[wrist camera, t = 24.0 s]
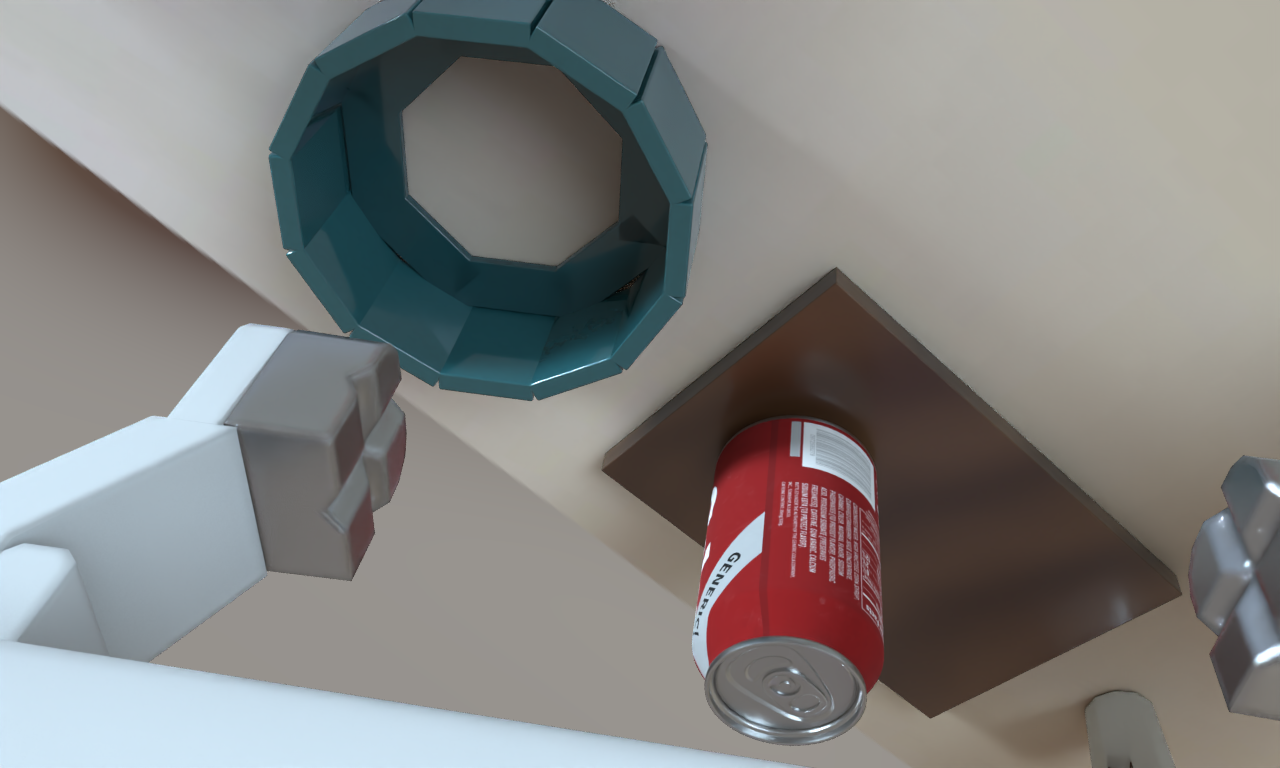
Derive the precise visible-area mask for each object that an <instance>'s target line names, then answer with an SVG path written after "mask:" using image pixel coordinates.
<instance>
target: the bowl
mask: <svg viewBox="0 0 1280 768" xmlns="http://www.w3.org/2000/svg"><path fill="white" fill-rule="evenodd" d="M657 41H658V40H657V39H656V38H654V37H653V36H651V35H650V34H649V33H647V32H646V31H644V30H643V29H641V28H640V27H639V26H637V25H636V24H634V23H633V22H631V21H630V20H629V19H627V18H626V17H624V16H623V15H622V14H620V13H619V12H617V11H616V10H614V9H613V8H612V7H610V6H609V5H607V4H606V3H604V2H603V1H602V0H383V1H381V2H379V3H377V4H375V5H374V6H372V7H370V8H368V9H366V10H365V11H364V12H363V13H362V14H361V15H360V16H359V17H358V18H357V19H356V20H355V21H354V22H353V23H351V24H350V25H349V26H348V27H347V28H346V29H345V30H344V31H343V32H342V33H341V34H340V35H339V36H338V37H337V38H336V39H335V40H334V41H333V42H331V43H330V44H329V45H328V46H327V47H326V48H325V49H324V50H323V51H322V52H321V53H320V54H319V55H318V56H317V57H316V58H315V59H314V60H313V61H312V62H311V63H310V64H309V65H308V66H307V69H306V71H305V73H304V75H303V77H302V79H301V81H300V83H299V86H298V88H297V90H296V92H295V94H294V96H293V98H292V100H291V103H290V105H289V107H288V109H287V111H286V113H285V115H284V117H283V120H282V122H281V124H280V126H279V128H278V130H277V132H276V134H275V136H274V139H273V141H272V143H271V145H270V147H269V150H270V151H272V152H271V154H270V155H269V163H270V169H271V175H272V181H273V188H274V194H275V200H276V206H277V212H278V219H279V225H280V231H281V237H282V243H283V248H284V249H287V250H289V251H288V253H287V254H286V256H287V257H288V259H289V260H290V261H291V263H292V264H293V265H294V267H295V268H296V269H297V271H298V272H299V273H300V275H301V276H302V278H303V279H304V280H305V282H306V283H307V284H308V286H309V287H310V288H311V290H312V291H313V292H314V294H315V295H316V296H317V298H318V299H319V300H320V302H321V303H322V304H323V306H324V307H325V308H326V310H327V311H328V313H329V314H330V315H331V317H332V318H333V319H334V321H335V322H336V323H337V325H338V326H339V327H340V329H341V330H342V331H343V333H347V332H349V331H352V330H353V331H352V332H351V334H350V338H357V339H363V340H370V341H377V342H383V343H390V344H392V345H393V346H394V348H395V349H396V350H397V351H398V356H399V363H400V368H402V369H404V370H405V371H407V372H409V373H410V374H412V375H414V376H416V377H417V378H419V379H421V380H422V381H424V382H426V383H428V384H429V385H431V386H435V385H436V383H437V382H438V380H439V388H440V389H444V390H451V391H459V392H466V393H474V394H481V395H489V396H497V397H504V398H512V399H519V400H527V401H532V400H533V398H534V395H535V397H536V398H537V400H542V399H545V398H548V397H551V396H554V395H557V394H560V393H563V392H566V391H569V390H572V389H575V388H578V387H581V386H584V385H587V384H590V383H593V382H596V381H599V380H602V379H605V378H608V377H611V376H614V375H617V374H620V373H622V370H623V368H624V369H625V370H627V369H628V368H629V367H630V366H631V365H632V364H633V362H634V361H635V360H636V359H637V358H638V356H639V355H640V354H641V353H642V352H643V351H644V349H645V348H646V347H647V346H648V345H649V343H650V342H651V341H652V340H653V339H654V337H655V336H656V335H657V334H658V333H659V332H660V330H661V329H662V328H663V327H664V326H665V324H666V323H667V322H668V321H669V320H670V318H671V317H672V316H673V315H674V314H675V313H676V311H677V310H678V309H679V308H680V307H681V305H682V304H683V299H684V298H685V296H686V291H687V287H688V282H689V277H690V272H691V268H692V263H693V258H694V253H695V249H696V244H697V239H698V234H699V230H700V219H701V209H702V199H703V188H704V178H705V168H706V157H707V147H708V144H707V142H705V139H706V134H705V132H704V130H703V128H702V126H701V124H700V122H699V120H698V118H697V116H696V113H695V111H694V109H693V107H692V105H691V103H690V101H689V99H688V97H687V95H686V93H685V91H684V89H683V87H682V85H681V83H680V81H679V79H678V77H677V74H676V72H675V70H674V68H673V66H672V64H671V62H670V60H669V58H668V56H667V54H666V52H665V50H664V48H663V47H662V46H659V47H657V48H655V47H656V44H657ZM460 56H465V57H474V58H484V59H493V60H503V61H512V62H521V63H531V64H540V65H549V66H555V67H556V68H557V69H559V70H560V71H562V72H563V74H564V75H565V76H566V77H567V78H568V79H569V80H570V81H571V82H572V83H573V85H574V86H575V87H576V88H577V89H578V90H579V91H580V92H581V93H582V95H583V96H584V97H585V98H586V99H587V100H588V101H589V102H590V103H591V104H592V106H593V107H594V108H595V109H596V110H597V111H598V112H599V113H600V114H601V115H602V117H603V118H604V119H605V120H606V121H607V122H608V123H609V124H610V125H611V126H612V128H613V129H614V130H615V131H616V132H617V133H618V134H619V135H620V136H621V137H622V139H623V141H622V162H621V184H620V205H619V220H618V221H617V222H616V223H614V224H613V225H612V226H610V227H609V228H608V229H606V230H605V231H604V232H602V233H601V234H600V235H598V236H597V237H596V238H594V239H593V240H592V241H590V242H589V243H588V244H586V245H585V246H584V247H582V248H581V249H580V250H578V251H577V252H576V253H574V254H573V255H572V256H570V257H569V258H568V259H566V260H565V261H564V262H562V263H561V264H560V265H558V266H549V265H541V264H533V263H525V262H517V261H508V260H500V259H492V258H484V257H476V256H472V255H471V254H470V253H469V252H468V251H466V250H465V249H464V248H463V247H462V246H461V245H460V244H459V243H458V242H457V241H456V240H455V239H454V238H453V237H452V236H451V235H450V234H449V233H448V232H447V231H446V230H445V229H444V228H443V227H442V226H441V225H440V224H439V223H438V222H437V221H436V220H435V219H434V218H433V217H431V216H430V215H429V214H428V213H427V212H426V211H425V210H424V209H423V208H422V207H421V206H420V205H419V204H418V203H417V202H416V201H415V200H414V199H413V198H412V197H411V196H410V195H409V194H408V182H407V169H406V157H405V145H404V132H403V120H402V111H403V110H404V109H405V108H406V107H407V106H408V105H409V104H410V103H411V102H412V101H413V100H414V99H416V98H417V97H418V96H419V95H420V94H421V93H422V92H423V91H424V90H425V89H426V88H427V87H428V86H429V85H430V84H432V83H433V82H434V81H435V80H436V79H437V78H438V77H439V76H440V75H441V74H442V73H443V72H444V71H445V70H447V69H448V68H449V67H450V66H451V65H452V64H453V63H454V62H455V61H456V60H457V59H458V58H459V57H460ZM396 252H397V253H398V254H399V255H400V256H401V257H402V258H403V259H404V260H405V261H406V262H407V263H408V264H407V263H406V262H404V261H402V260H401V259H400V258H399V256H398V255H397V253H396ZM641 273H642V274H641ZM640 274H641V275H640ZM638 275H640V276H639V277H638V279H637V280H636V281H635V282H634V284H633V285H632V286H631V288H629V289H626V290H623V291H620V292H618V293H615V294H613V293H614V292H616V291H617V290H619V289H620V288H621V287H623V286H624V285H626V284H627V283H628V282H630V281H631V280H633V279H634V278H636V277H637V276H638ZM611 294H612V295H611Z"/></svg>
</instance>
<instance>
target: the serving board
mask: <svg viewBox="0 0 1280 768" xmlns="http://www.w3.org/2000/svg"><path fill="white" fill-rule="evenodd" d="M787 415H798V416H808V417H814V418H818V419H822V420H825V421H828V422H831V423H833V424H836V425H838V426H840V427H841V428H843V429H845V430H847V431H848V432H850V433H851V434H852V435H854V436H855V437H856V438H857V439H858V440H859V441H860V442H861V443H862V444H863V445H864V446H865V448H866V449H867V450H868V452H869V454H870V455H871V457H872V459H873V462H874V464H875V468H876V474H877V491H878V516H879V540H880V565H881V589H882V614H883V638H884V663H883V668H882V671H881V674H880V676H879V678H878V680H880V681H881V682H882V683H884V684H885V685H886V686H888V687H889V688H890V689H892V690H893V691H894V692H896V693H897V694H898V695H900V696H901V697H902V698H904V699H905V700H906V701H908V702H909V703H910V704H912V705H913V706H914V707H916V708H917V709H918V710H920V711H921V712H922V713H924V714H925V715H926V716H927V717H929V718H933V717H935V716H937V715H939V714H941V713H943V712H945V711H947V710H949V709H951V708H953V707H955V706H957V705H959V704H961V703H963V702H965V701H967V700H969V699H971V698H973V697H976V696H978V695H980V694H982V693H984V692H986V691H988V690H990V689H992V688H994V687H996V686H998V685H1000V684H1002V683H1004V682H1006V681H1008V680H1010V679H1012V678H1014V677H1016V676H1018V675H1020V674H1022V673H1024V672H1026V671H1028V670H1031V669H1033V668H1035V667H1037V666H1039V665H1041V664H1043V663H1045V662H1047V661H1049V660H1051V659H1053V658H1055V657H1057V656H1059V655H1061V654H1063V653H1065V652H1067V651H1069V650H1071V649H1073V648H1075V647H1077V646H1079V645H1081V644H1083V643H1085V642H1088V641H1090V640H1092V639H1094V638H1096V637H1098V636H1100V635H1102V634H1104V633H1106V632H1108V631H1110V630H1112V629H1114V628H1116V627H1118V626H1120V625H1122V624H1124V623H1126V622H1128V621H1130V620H1132V619H1134V618H1136V617H1138V616H1140V615H1143V614H1145V613H1147V612H1149V611H1151V610H1153V609H1155V608H1157V607H1159V606H1161V605H1163V604H1165V603H1167V602H1169V601H1171V600H1173V599H1175V598H1177V597H1179V596H1181V595H1182V592H1181V589H1180V586H1179V583H1178V580H1177V577H1176V575H1175V574H1174V573H1173V572H1172V571H1171V570H1170V569H1168V568H1167V567H1166V566H1165V565H1164V564H1163V563H1162V562H1161V561H1160V560H1158V559H1157V558H1156V557H1155V556H1154V555H1153V554H1152V553H1151V552H1150V551H1149V550H1147V549H1146V548H1145V547H1144V546H1143V545H1142V544H1141V543H1140V542H1139V541H1138V540H1136V539H1135V538H1134V537H1133V536H1132V535H1131V534H1130V533H1129V532H1128V531H1127V530H1125V529H1124V528H1123V527H1122V526H1121V525H1120V524H1119V523H1118V522H1117V521H1116V520H1114V519H1113V518H1112V517H1111V516H1110V515H1109V514H1108V513H1107V512H1106V511H1105V510H1103V509H1102V508H1101V507H1100V506H1099V505H1098V504H1097V503H1096V502H1095V501H1093V500H1092V499H1091V498H1090V497H1089V496H1088V495H1087V494H1086V493H1085V492H1084V491H1082V490H1081V489H1080V488H1079V487H1078V486H1077V485H1076V484H1075V483H1074V482H1073V481H1071V480H1070V479H1069V478H1068V477H1067V476H1066V475H1065V474H1064V473H1063V472H1062V471H1060V470H1059V469H1058V468H1057V467H1056V466H1055V465H1054V464H1053V463H1052V462H1051V461H1049V460H1048V459H1047V458H1046V457H1045V456H1044V455H1043V454H1042V453H1041V452H1040V451H1038V450H1037V449H1036V448H1035V447H1034V446H1033V445H1032V444H1031V443H1030V442H1028V441H1027V440H1026V439H1025V438H1024V437H1023V436H1022V435H1021V434H1020V433H1019V432H1017V431H1016V430H1015V429H1014V428H1013V427H1012V426H1011V425H1010V424H1009V423H1008V422H1006V421H1005V420H1004V419H1003V418H1002V417H1001V416H1000V415H999V414H998V413H997V412H995V411H994V410H993V409H992V408H991V407H990V406H989V405H988V404H987V403H986V402H984V401H983V400H982V399H981V398H980V397H979V396H978V395H977V394H976V393H975V392H973V391H972V390H971V389H970V388H969V387H968V386H967V385H966V384H965V383H964V382H962V381H961V380H960V379H959V378H958V377H957V376H956V375H955V374H954V373H952V372H951V371H950V370H949V369H948V368H947V367H946V366H945V365H944V364H943V363H941V362H940V361H939V360H938V359H937V358H936V357H935V356H934V355H933V354H932V353H930V352H929V351H928V350H927V349H926V348H925V347H924V346H923V345H922V344H921V343H919V342H918V341H917V340H916V339H915V338H914V337H913V336H912V335H911V334H910V333H908V332H907V331H906V330H905V329H904V328H903V327H902V326H901V325H900V324H899V323H897V322H896V321H895V320H894V319H893V318H892V317H891V316H890V315H889V314H887V313H886V312H885V311H884V310H883V309H882V308H881V307H880V306H879V305H878V304H876V303H875V302H874V301H873V300H872V299H871V298H870V297H869V296H868V295H867V294H865V293H864V292H863V291H862V290H861V289H860V288H859V287H858V286H857V285H856V284H854V283H853V282H852V281H851V280H850V279H849V278H848V277H847V276H846V275H845V274H843V273H842V272H841V271H840V270H839V269H838V268H835V269H834V270H832V271H831V272H830V273H829V274H827V275H826V276H825V277H824V278H822V279H821V280H820V281H819V282H818V283H816V284H815V285H814V286H813V287H811V288H810V289H809V290H808V291H806V292H805V293H804V294H803V295H801V296H800V297H799V298H798V299H796V300H795V301H794V302H793V303H791V304H790V305H789V306H788V307H787V308H785V309H784V310H783V311H782V312H780V313H779V314H778V315H777V316H775V317H774V318H773V319H772V320H770V321H769V322H768V323H767V324H765V325H764V326H763V327H762V328H761V329H759V330H758V331H757V332H756V333H754V334H753V335H752V336H751V337H749V338H748V339H747V340H746V341H744V342H743V343H742V344H741V345H739V346H738V347H737V348H736V349H734V350H733V351H732V352H731V353H730V354H728V355H727V356H726V357H725V358H723V359H722V360H721V361H720V362H718V363H717V364H716V365H715V366H713V367H712V368H711V369H710V370H708V371H707V372H706V373H705V374H704V375H702V376H701V377H700V378H699V379H697V380H696V381H695V382H694V383H692V384H691V385H690V386H689V387H687V388H686V389H685V390H684V391H682V392H681V393H680V394H679V395H677V396H676V397H675V398H674V399H673V400H671V401H670V402H669V403H668V404H666V405H665V406H664V407H663V408H661V409H660V410H659V411H658V412H656V413H655V414H654V415H653V416H651V417H650V418H649V419H648V420H647V421H645V422H644V423H643V424H642V425H640V426H639V427H638V428H637V429H635V430H634V431H633V432H632V433H630V434H629V435H628V436H627V437H625V438H624V439H623V440H622V441H620V442H619V443H618V444H617V445H616V446H614V447H613V448H612V449H611V450H609V451H608V452H607V453H606V454H605V458H604V462H603V466H602V469H601V470H602V471H603V472H604V473H606V474H607V475H608V476H610V477H611V478H612V479H614V480H615V481H616V482H618V483H619V484H620V485H622V486H623V487H624V488H625V489H627V490H628V491H629V492H631V493H632V494H633V495H635V496H636V497H637V498H639V499H640V500H641V501H643V502H644V503H645V504H647V505H648V506H649V507H651V508H652V509H653V510H655V511H656V512H657V513H659V514H660V515H661V516H663V517H664V518H665V519H667V520H668V521H669V522H671V523H672V524H673V525H674V526H676V527H677V528H678V529H680V530H681V531H682V532H684V533H685V534H686V535H688V536H689V537H690V538H692V539H693V540H694V541H696V542H697V543H698V544H700V545H701V546H702V547H704V548H705V541H706V534H707V527H708V519H709V512H710V505H711V497H712V490H713V483H714V475H715V468H716V463H717V460H718V457H719V455H720V452H721V451H722V449H723V447H724V446H725V445H726V443H727V442H728V441H729V440H730V439H731V438H732V437H733V436H734V435H735V434H736V433H738V432H739V431H740V430H742V429H743V428H745V427H747V426H749V425H751V424H753V423H755V422H758V421H761V420H764V419H768V418H772V417H778V416H787Z"/></svg>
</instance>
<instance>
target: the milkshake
mask: <svg viewBox="0 0 1280 768" xmlns="http://www.w3.org/2000/svg"><path fill="white" fill-rule="evenodd" d="M1085 718H1086V726H1087V734H1088V742H1089V750H1090V759H1091V767H1092V768H1176V766H1175V764H1174V761H1173V758H1172V755H1171V753H1170V750H1169V747H1168V745H1167V742H1166V739H1165V736H1164V734H1163V731H1162V728H1161V726H1160V723H1159V720H1158V717H1157V715H1156V712H1155V709H1154V707H1153V704H1152V702H1151V701H1149V700H1147V699H1146V698H1144V697H1142V696H1141V695H1139V694H1138V693H1135V692H1121V691H1113V692H1110V693H1107V694H1104V695H1101V696H1097V697H1095V698H1094V699H1093V700H1092V701H1091V703H1090V704H1089V705H1088V706H1087V707H1086V708H1085Z"/></svg>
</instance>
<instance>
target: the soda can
mask: <svg viewBox="0 0 1280 768" xmlns="http://www.w3.org/2000/svg"><path fill="white" fill-rule="evenodd" d="M692 650H693V657H694V661H695V663H696V666H697V668H698V670H699V672H700V673H701V675H702V677H703V678H704V679H705V695H706V699H707V702H708V704H709V706H710V708H711V709H712V711H713V712H714V713H715V715H716V716H717V717H718V718H719V719H720V720H721V721H722V722H723V723H725V724H726V725H727V726H729V727H730V728H732V729H733V730H735V731H737V732H739V733H740V734H743V735H745V736H747V737H750V738H752V739H755V740H759V741H762V742H766V743H772V744H777V745H789V746H794V745H795V746H796V745H797V746H799V745H810V744H816V743H821V742H824V741H828V740H831V739H834V738H836V737H838V736H840V735H842V734H844V733H845V732H847V731H848V730H850V729H851V728H852V727H853V726H854V725H855V724H856V723H857V722H858V721H859V720H860V718H861V717H862V715H863V713H864V710H865V707H866V702H867V693H868V692H869V691H870V690H871V689H872V688H873V686H874V685H875V683H876V682H877V680H878V678H879V676H880V674H881V671H882V668H883V663H884V638H883V614H882V589H881V565H880V540H879V516H878V491H877V474H876V468H875V464H874V462H873V459H872V457H871V455H870V454H869V452H868V450H867V449H866V448H865V446H864V445H863V444H862V443H861V442H860V441H859V440H858V439H857V438H856V437H855V436H854V435H852V434H851V433H850V432H848V431H847V430H845V429H843V428H841V427H840V426H838V425H836V424H833V423H831V422H828V421H825V420H822V419H818V418H814V417H808V416H798V415H787V416H778V417H772V418H768V419H764V420H761V421H758V422H755V423H753V424H751V425H749V426H747V427H745V428H743V429H742V430H740V431H739V432H738V433H736V434H735V435H734V436H733V437H732V438H731V439H730V440H729V441H728V442H727V443H726V445H725V446H724V447H723V449H722V451H721V452H720V455H719V457H718V460H717V463H716V468H715V475H714V483H713V490H712V497H711V505H710V512H709V519H708V527H707V534H706V541H705V549H704V556H703V564H702V571H701V578H700V586H699V593H698V600H697V608H696V616H695V623H694V630H693V637H692Z"/></svg>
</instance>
